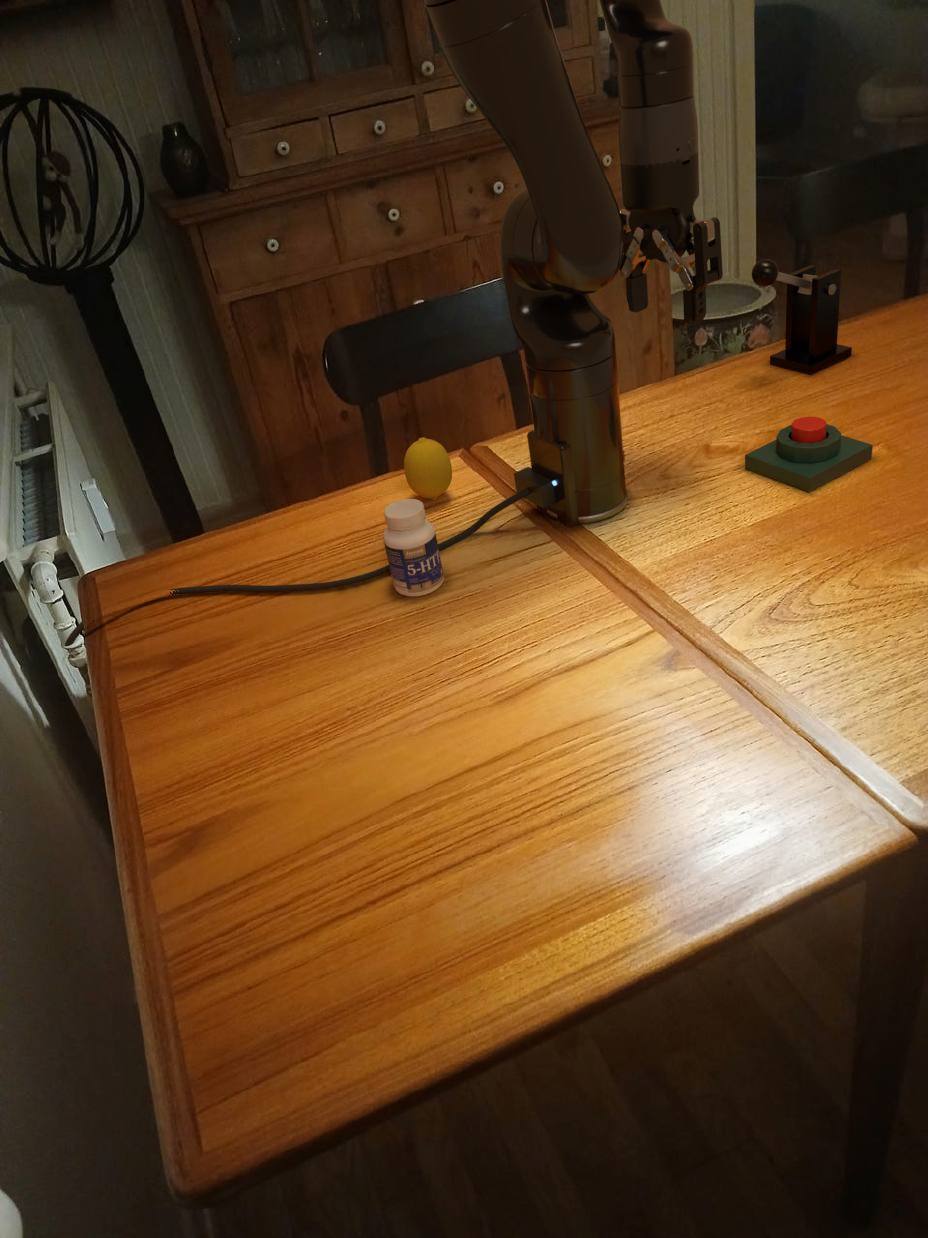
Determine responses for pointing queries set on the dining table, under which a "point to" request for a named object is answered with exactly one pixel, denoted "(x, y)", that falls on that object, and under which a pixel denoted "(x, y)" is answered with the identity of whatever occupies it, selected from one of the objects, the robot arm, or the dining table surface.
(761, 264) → the tap lever
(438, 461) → the lemon
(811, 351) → the black lever stand
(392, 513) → the pill bottle
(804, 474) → the button block
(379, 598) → the dining table surface
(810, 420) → the push button
